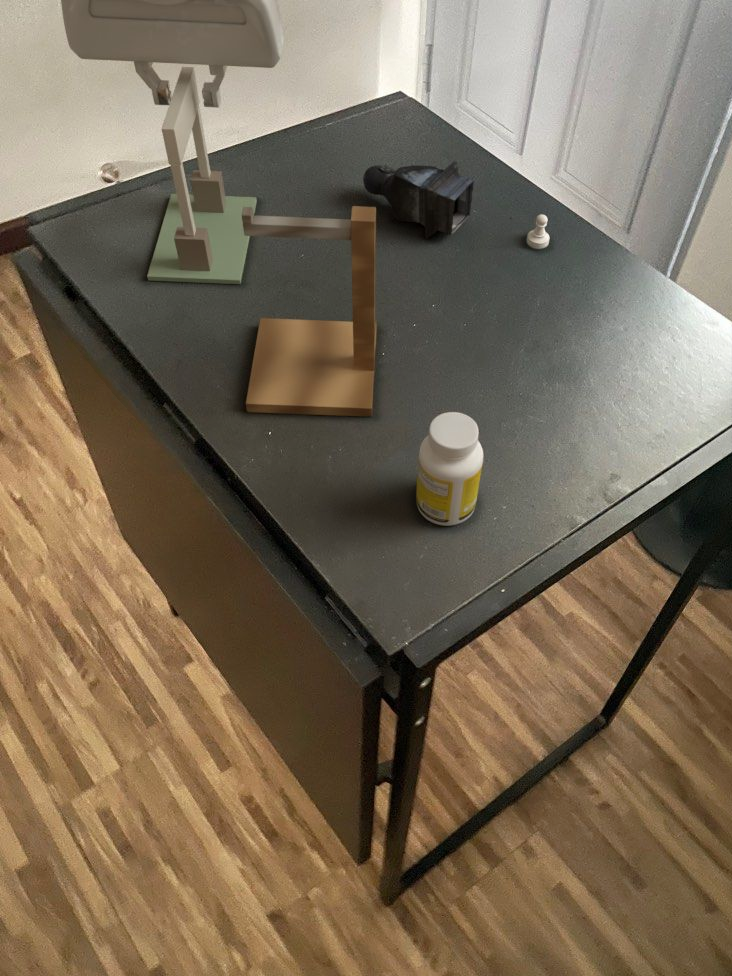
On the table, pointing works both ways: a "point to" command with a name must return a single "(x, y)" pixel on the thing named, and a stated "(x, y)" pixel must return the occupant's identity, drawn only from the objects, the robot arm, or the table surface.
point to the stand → (319, 330)
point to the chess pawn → (539, 234)
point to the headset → (203, 181)
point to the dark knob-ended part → (424, 195)
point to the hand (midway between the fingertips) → (188, 103)
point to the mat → (223, 241)
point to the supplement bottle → (449, 469)
